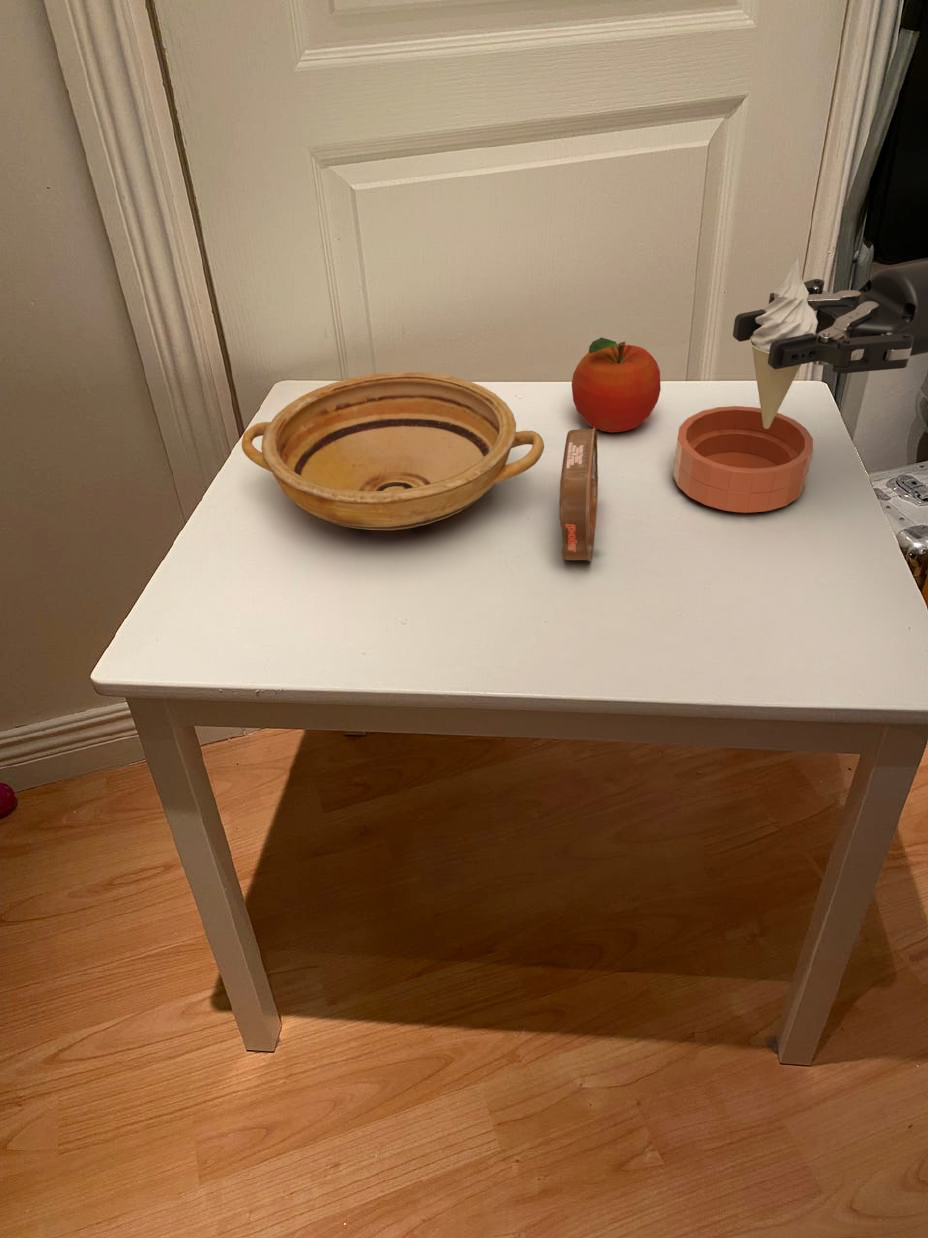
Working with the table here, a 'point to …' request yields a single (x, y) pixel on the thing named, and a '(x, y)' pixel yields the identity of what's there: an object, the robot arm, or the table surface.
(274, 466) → the ceramic bowl
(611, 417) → the fruit
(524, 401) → the table surface
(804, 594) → the table surface
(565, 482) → the tin
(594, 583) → the table surface
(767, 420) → the ice cream cone
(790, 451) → the pot
